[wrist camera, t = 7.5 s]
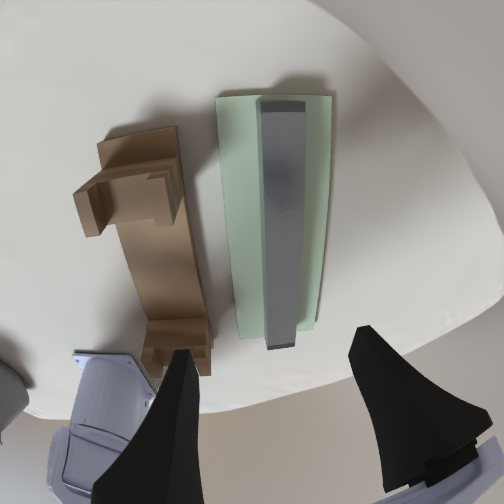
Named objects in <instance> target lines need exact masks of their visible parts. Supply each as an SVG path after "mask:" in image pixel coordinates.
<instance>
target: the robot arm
mask: <svg viewBox="0 0 504 504" xmlns="http://www.w3.org/2000/svg"><path fill="white" fill-rule="evenodd" d="M348 357H349V361H350V364H351V368H352V371H353V375H354V377H355V380H356V382H357V385H358V387H359V389H360V391H361V394H362V397H363V399H364V401H365V404H366V406H367V408H368V411H369V413H370V417H371V419H372V423H373V427H374V431H375V435H376V439H377V444H378V449H379V454H380V460H381V467H382V476H383V488H384V491H385V493H387V492H390V491H392V490H395V489H397V488H399V487H402V486H404V485H406V484H408V485H409V488H408V489H406V490H404V491H402V492H400V493H397V494H395V495H393V496H390V497H388V498H385V499H383V500H380V501H378V502H375V503H372V504H473V503H474V502H475V501H476V500H477V499H478V498H479V497H480V496H481V495H482V494H483V493H485V492H486V491H487V490H488V489H489V488H490V487H491V486H492V485H493V484H494V483H495V482H496V481H497V480H498V479H500V478H501V477H502V476H503V475H504V455H503V452H502V450H501V448H500V445H499V443H498V441H497V438H496V436H493V437H491V438H490V439H489V440H487V441H486V442H485V443H483V444H482V445H481V446H479V447H478V448H476V447H475V445H476V444H477V440H476V438H477V437H478V436H479V435H480V434H482V433H483V432H484V431H486V430H487V429H488V428H490V427H491V426H492V424H493V422H492V421H491V418H490V416H489V414H488V412H487V411H486V410H485V409H482V408H480V407H477V406H474V405H472V404H469V403H467V402H465V401H463V400H461V399H459V398H457V397H455V396H453V395H452V394H450V393H448V392H447V391H445V390H443V389H442V388H440V387H439V386H437V385H436V384H434V383H433V382H431V381H430V380H429V379H427V378H426V377H424V376H423V375H422V374H421V373H419V372H418V371H417V370H416V369H415V368H414V367H412V366H411V365H410V364H409V363H408V362H407V361H405V359H403V358H402V357H401V356H400V355H399V354H398V353H397V352H396V351H395V350H394V349H393V348H392V347H391V346H390V345H389V344H388V343H387V342H386V341H385V340H384V339H383V338H382V337H381V336H380V335H379V334H378V333H377V332H376V331H375V330H374V329H373V328H372V327H371V326H370V325H367V326H362V327H357V330H356V333H355V336H354V339H353V342H352V345H351V348H350V351H349V354H348ZM72 358H73V359H74V361H75V362H76V363H77V365H78V366H79V367H80V369H81V370H82V371H83V373H82V377H81V380H80V384H79V387H78V391H77V395H76V399H75V403H74V407H73V411H72V415H71V419H70V424H69V426H68V427H65V426H62V427H60V428H58V429H56V431H55V433H54V436H53V439H52V442H51V446H50V451H49V457H48V472H47V485H48V487H49V491H50V492H51V493H52V495H53V496H54V497H55V498H56V499H57V500H58V501H59V502H60V504H204V499H203V493H202V486H201V478H200V469H199V459H198V420H199V401H200V392H199V375H198V372H197V369H196V366H195V363H194V361H193V358H192V355H191V352H190V349H180V350H175V351H173V355H172V358H171V361H170V363H169V366H168V369H167V371H166V374H165V376H164V379H163V381H162V383H161V386H160V388H159V390H158V393H157V395H155V393H154V392H153V390H152V388H151V387H150V385H149V384H148V382H147V381H146V379H145V377H144V376H143V374H142V373H141V371H140V369H139V368H138V366H137V364H136V363H135V361H134V359H133V358H132V357H131V356H130V355H106V354H80V353H73V354H72ZM149 400H154V401H153V403H152V405H151V407H150V409H149ZM148 409H149V411H148ZM64 483H66V484H69V485H71V486H74V487H77V488H80V489H83V490H86V491H89V492H91V494H90V493H86V492H83V491H80V490H77V489H74V488H72V487H69V486H67V485H65V484H64Z"/></svg>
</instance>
